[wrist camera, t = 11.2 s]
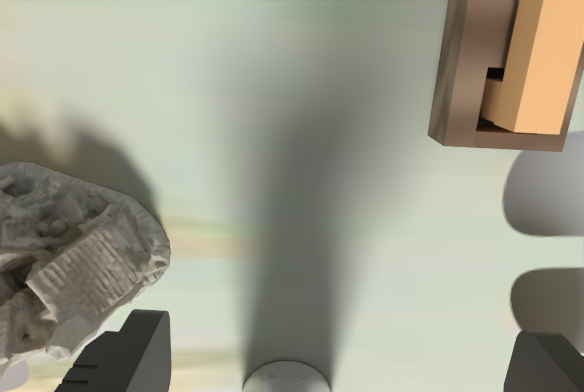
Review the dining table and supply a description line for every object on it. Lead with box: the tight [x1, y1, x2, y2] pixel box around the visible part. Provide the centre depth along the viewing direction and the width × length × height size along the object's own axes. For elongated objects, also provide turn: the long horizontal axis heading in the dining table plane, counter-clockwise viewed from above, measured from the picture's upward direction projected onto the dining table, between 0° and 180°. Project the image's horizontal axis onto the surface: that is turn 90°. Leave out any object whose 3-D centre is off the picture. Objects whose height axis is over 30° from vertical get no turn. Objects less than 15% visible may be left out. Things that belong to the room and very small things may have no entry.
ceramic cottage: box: [0, 161, 171, 379], centre depth 33 cm, size 16×16×15 cm
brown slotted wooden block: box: [428, 0, 584, 152], centre depth 32 cm, size 16×9×4 cm, turn 177°
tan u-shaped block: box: [479, 0, 584, 135], centre depth 30 cm, size 12×3×8 cm, turn 177°
